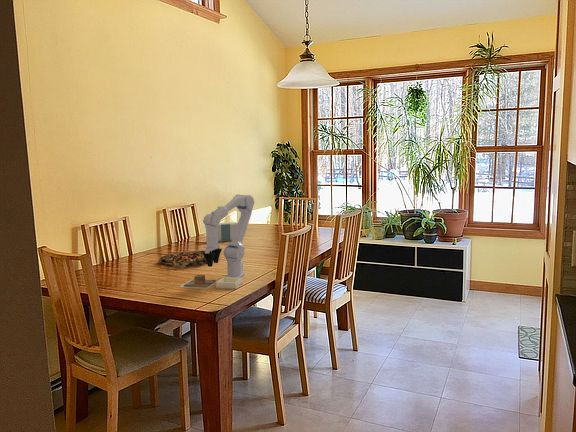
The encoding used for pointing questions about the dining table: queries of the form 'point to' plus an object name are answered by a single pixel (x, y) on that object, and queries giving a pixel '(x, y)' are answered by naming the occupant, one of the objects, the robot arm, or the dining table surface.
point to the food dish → (184, 259)
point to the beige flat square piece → (197, 287)
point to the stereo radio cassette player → (226, 230)
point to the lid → (199, 282)
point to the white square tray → (229, 283)
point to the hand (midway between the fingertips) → (213, 264)
